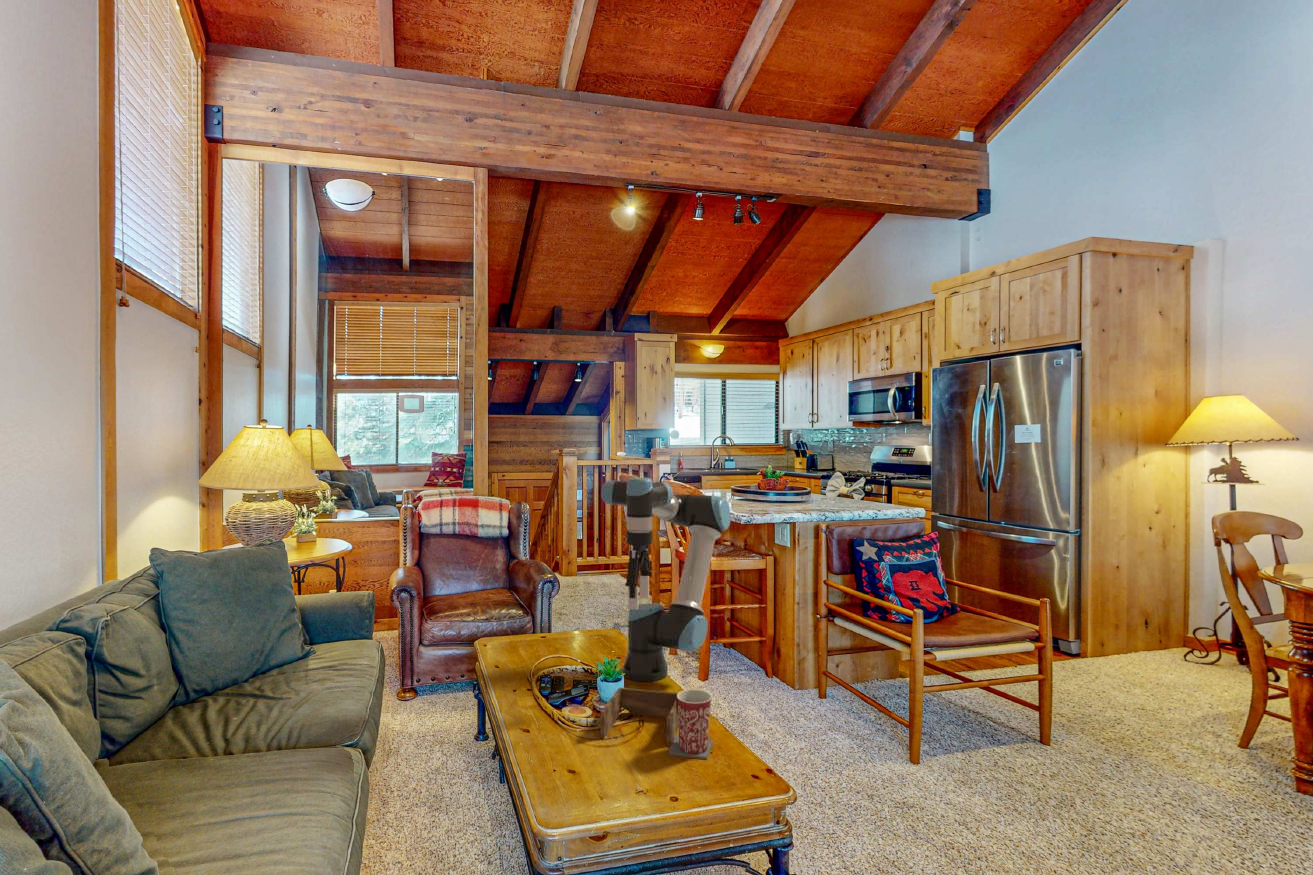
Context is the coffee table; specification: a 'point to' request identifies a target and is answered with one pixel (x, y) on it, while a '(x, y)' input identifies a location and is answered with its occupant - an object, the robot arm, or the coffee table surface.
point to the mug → (693, 720)
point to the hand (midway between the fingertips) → (638, 603)
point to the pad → (677, 751)
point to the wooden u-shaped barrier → (641, 708)
